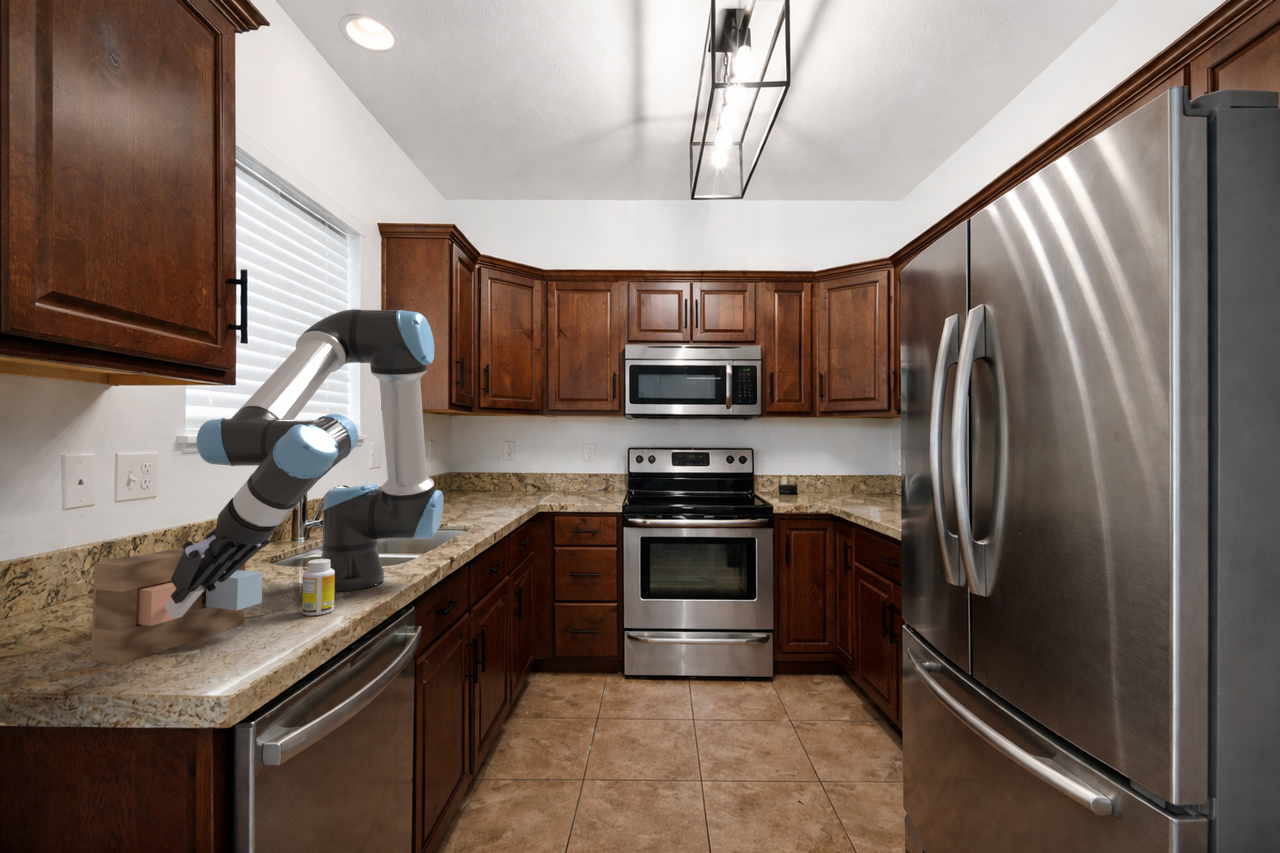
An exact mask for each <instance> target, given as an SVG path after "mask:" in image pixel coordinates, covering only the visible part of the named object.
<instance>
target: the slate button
mask: <svg viewBox="0 0 1280 853" xmlns="http://www.w3.org/2000/svg"><path fill="white" fill-rule="evenodd" d="M225 572H226V571H225ZM225 572H224V573H225ZM263 573H264V572H262V571H252V570H245V571H243V570H237V571H235V572H234V573H233V574H232V575H231V576H230V577H229V578H228V579H227V580H225V581H224V582H221V583H220V582H219V581H216V582H215V584H214V585H215V587H216V589H214V590H213V591H210V592H208V590H207V589H206V607H213V608H222V609H230V610H240V609H243V608H244V609H246V608H250V607H253V606H257V605H259V604H262V603H263Z"/></svg>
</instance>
